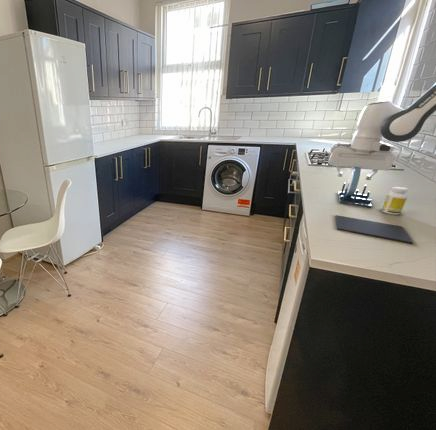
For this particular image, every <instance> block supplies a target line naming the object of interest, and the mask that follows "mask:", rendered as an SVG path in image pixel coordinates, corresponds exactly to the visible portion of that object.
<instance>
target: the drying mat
mask: <svg viewBox="0 0 436 430" xmlns="http://www.w3.org/2000/svg"><path fill="white" fill-rule="evenodd" d="M335 222H336V223H335V224H336V225H335V226H336V231H341V232H347V233H353V234H358V235H362V236H367V237H373V238H378V239H382V240H389V241H394V242H397V243H398V242H399V243H405V244H409V245H413V240H412V239H411V238H410V236H409V234H408V233H407V232H406V230H405V228H404V227H403V226H402V225H397V224H391V223H386V222H385V223H384V222H379V221H378V222H377V221H372V220H367V219H362V218H355V217H349V216H344V215H338V214H335Z"/></svg>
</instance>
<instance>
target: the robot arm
mask: <svg viewBox="0 0 436 430" xmlns="http://www.w3.org/2000/svg"><path fill="white" fill-rule="evenodd" d="M435 112H436V82H435V83H434V84H433V85H432V86H431V87H430V88H429V89H428V90H426V92H424V93H423V94H422V95H421V96H420V97H419V98H418V99H416V100H415V101H414V102H413V103H412V104H410V105H409V106H407V107H406V108H402V107H400V106H398V105H396V104H395V103H393V102H392V101H389V100H384V101H377V102H371V103H368V104H367V105H366V106H363V108H362V110H361V112H360V115H359V116H358V119H357V121H356V128H355V129H356V130H355V132H354V133H353V135H352V139H351V142H350V143H341V142H337V143H335V144H333V145H332V146H331V148H330V153H331V154H330V155H329V159H328V160H327V164H328V165H329V166H336V171H337V177H339V178H343V175H344V172H343V171H341V170H340V169H342V168H343V167H346V168H352V167H356V168H361V169H364V170H365V169H366V170H371V173H370V174H367V175H366V176H365V180H366V181H371V180H372V177H374V176H375V175H376V174H377V173H378V172H379V171H389V170H391V169H392V167H393V165H394V159H395V156H394V153H393V152H394V150H395V146H394V145H392V144H391V143H390V144H389V143H387V142H384V141H382V138H384V139H385V140H387V141H388V142H392V143H401V142H402V143H403V142H406V141H409V140H411V139H413V138H414V137H416V136H417V135H418V134H419V133H420V131H421V130H422V128H423V126H424V124H425V123H426V121H427V119H428V118H429V117H430V116H432V114H434V113H435Z"/></svg>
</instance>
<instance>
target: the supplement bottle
mask: <svg viewBox="0 0 436 430" xmlns="http://www.w3.org/2000/svg"><path fill="white" fill-rule="evenodd" d="M408 190H409V189H408V188H407V187H402V186H392V188H391V191H390V192H388V193H387V194H386V196H385V199H384V202H383V204H382V207H381V212H382V213H385V214H388V215H394V216H398V215H401V214H402V211H403V208H404V206H405V204H406V201H407V199H408V195H407V192H408Z"/></svg>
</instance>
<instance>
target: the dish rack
mask: <svg viewBox="0 0 436 430" xmlns="http://www.w3.org/2000/svg"><path fill="white" fill-rule="evenodd" d="M346 184H347V182H343V185H342V187H341V191H338V192H337V197H338V203H339V204H342V205H347V206H355V207H361V208H367V209H371V208H372V204H371V203H372V199H369V198H370V194H371V191H369V190H368V191H367V192H366V189H367V186H368V185H367V184H364V186H363V189H362V192H361V193H359V191H360V190H359V189H356V190H355V193H354V195H353V196H352V197H349V196H345V195H346V192H347V188H346ZM345 188H346V189H345ZM365 192H366V194H365Z"/></svg>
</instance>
